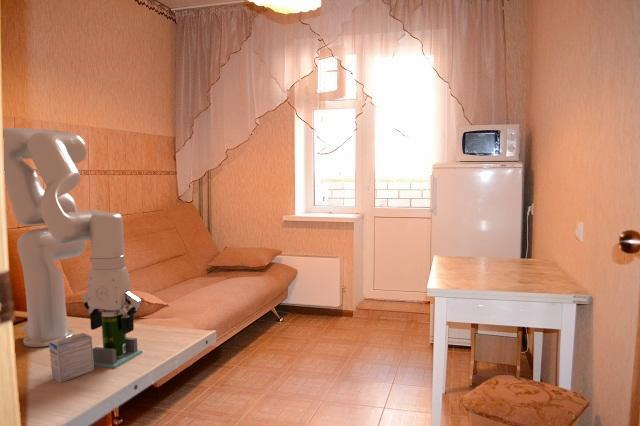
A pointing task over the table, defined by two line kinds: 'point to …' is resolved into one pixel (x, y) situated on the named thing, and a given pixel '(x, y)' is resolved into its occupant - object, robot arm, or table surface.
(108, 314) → the beer can
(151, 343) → the table surface
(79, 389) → the table surface
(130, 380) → the table surface
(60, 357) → the medicine box
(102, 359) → the end holder
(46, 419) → the table surface
